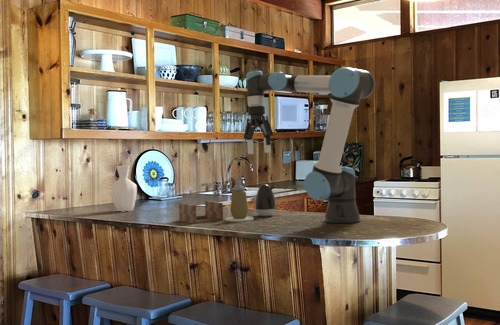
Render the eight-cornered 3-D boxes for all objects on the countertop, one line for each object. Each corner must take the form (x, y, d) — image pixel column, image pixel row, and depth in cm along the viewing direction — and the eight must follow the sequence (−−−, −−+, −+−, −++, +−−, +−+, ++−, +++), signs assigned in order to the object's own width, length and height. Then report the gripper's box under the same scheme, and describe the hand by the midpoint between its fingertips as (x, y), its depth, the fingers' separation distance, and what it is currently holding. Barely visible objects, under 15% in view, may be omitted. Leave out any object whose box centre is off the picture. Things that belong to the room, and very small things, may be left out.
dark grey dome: (275, 217, 259) (274, 184, 259) (253, 217, 261) (252, 184, 261) (278, 214, 269) (277, 183, 269) (257, 214, 271) (256, 183, 271)
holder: (223, 220, 252) (222, 202, 252) (193, 223, 245) (193, 205, 245) (208, 217, 265) (207, 200, 265) (179, 220, 258) (179, 203, 257)
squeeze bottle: (235, 219, 247) (234, 179, 247) (227, 218, 255) (226, 178, 254) (251, 218, 251) (250, 178, 251) (243, 216, 258) (242, 177, 258)
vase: (143, 210, 308) (141, 165, 308) (124, 213, 296) (123, 166, 296) (124, 209, 316) (123, 165, 315) (105, 212, 304) (104, 166, 303)
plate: (259, 219, 251) (259, 218, 251) (234, 222, 244) (234, 220, 244) (244, 217, 262) (244, 215, 262) (220, 219, 255) (220, 218, 255)
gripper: (279, 102, 241) (282, 151, 241) (248, 109, 262) (251, 154, 262) (265, 102, 237) (267, 152, 237) (234, 109, 258) (237, 154, 258)
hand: (259, 153), depth 250 cm, fingers open, 13 cm apart
